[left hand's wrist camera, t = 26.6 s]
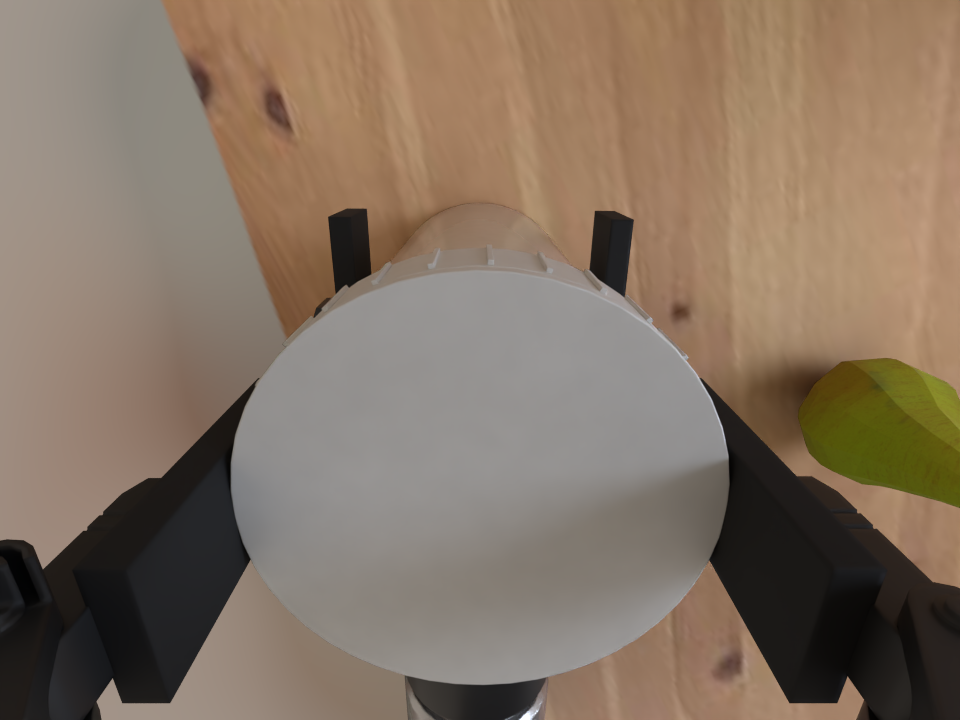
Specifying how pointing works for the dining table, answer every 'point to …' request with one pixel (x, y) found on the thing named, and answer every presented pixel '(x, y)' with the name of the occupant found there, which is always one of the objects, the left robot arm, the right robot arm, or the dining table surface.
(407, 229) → the dining table surface
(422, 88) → the dining table surface
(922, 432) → the fruit
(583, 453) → the lid
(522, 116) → the dining table surface
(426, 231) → the jar
